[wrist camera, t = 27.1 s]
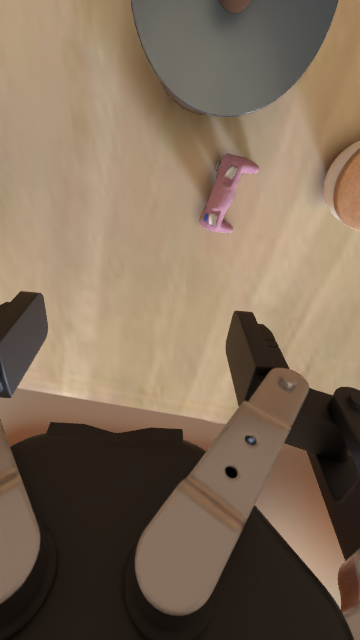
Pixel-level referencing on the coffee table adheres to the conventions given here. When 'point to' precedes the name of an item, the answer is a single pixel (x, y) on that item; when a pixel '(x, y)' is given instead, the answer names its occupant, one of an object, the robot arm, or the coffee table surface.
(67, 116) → the coffee table surface
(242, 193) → the coffee table surface
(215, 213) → the video game controller
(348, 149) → the trinket box
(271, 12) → the lid
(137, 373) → the coffee table surface
